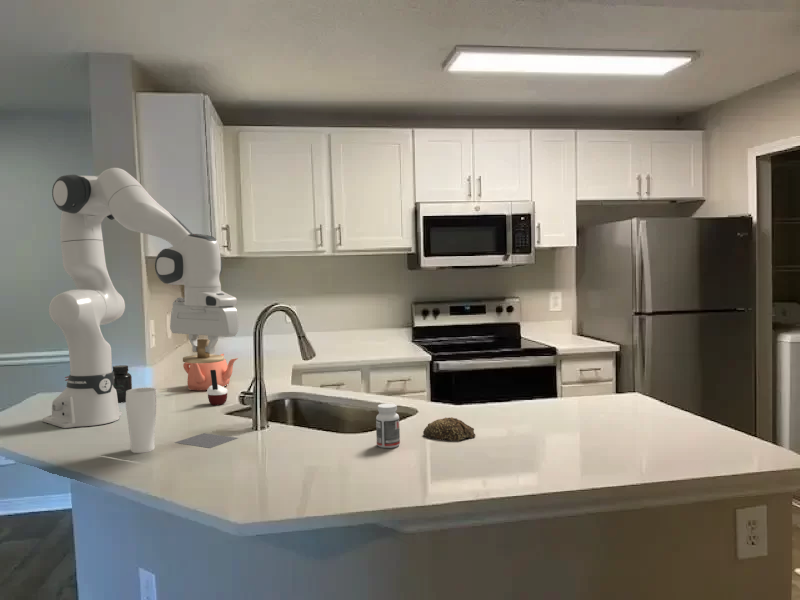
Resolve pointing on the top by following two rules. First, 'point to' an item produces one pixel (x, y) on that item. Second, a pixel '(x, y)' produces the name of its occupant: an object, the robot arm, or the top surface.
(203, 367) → the pot
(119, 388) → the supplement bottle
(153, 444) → the drinking glass
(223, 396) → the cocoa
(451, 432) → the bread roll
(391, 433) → the pill bottle
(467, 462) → the top surface
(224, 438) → the mat
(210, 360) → the lid
